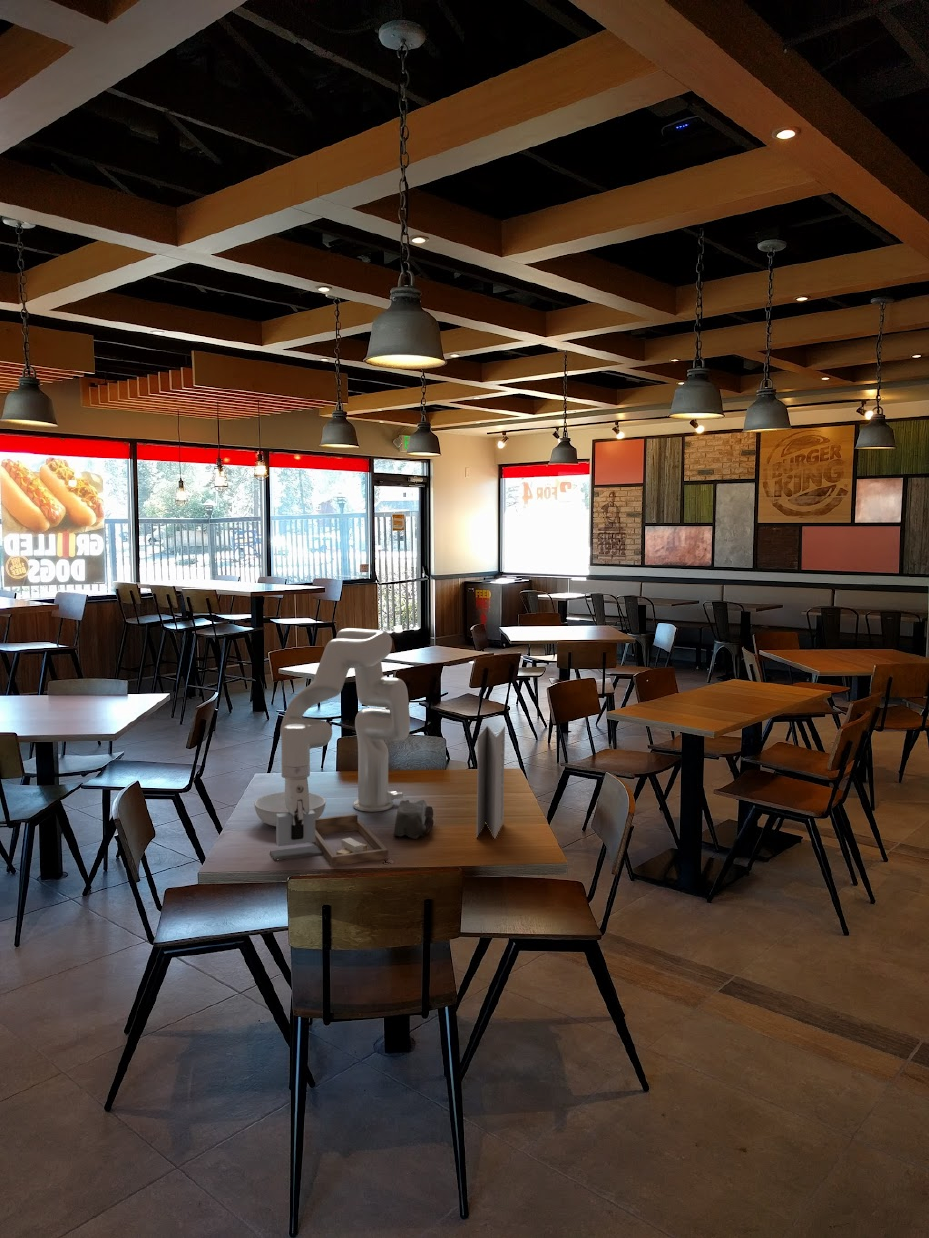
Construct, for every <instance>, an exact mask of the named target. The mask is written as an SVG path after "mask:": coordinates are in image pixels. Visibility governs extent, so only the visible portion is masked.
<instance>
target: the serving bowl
mask: <svg viewBox="0 0 929 1238" xmlns="http://www.w3.org/2000/svg"><path fill="white" fill-rule="evenodd" d="M253 805H254V811H255V814H256V815H257V817H258V818H259V820H261V822H263V823H265V824H267V825H269V826H272V827H276V814H281V813H289V811H288V809H287V808H286V806H285V791H284V792H283V791H282V792H274V793H269V794H266V795H264V796H261V797H258V798H257V799H256V800H255V801H254V804H253ZM325 808H326V799H325V798H324V797H323V796H321V795H319V794H317V793H313V792H312V793H310V792H309V810H313V811H314V812H315V819H316V818H321V816H322V814H323V813H324V811H325ZM303 811H304V810H303Z"/></svg>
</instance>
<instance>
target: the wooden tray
mask: <svg viewBox="0 0 929 1238" xmlns="http://www.w3.org/2000/svg"><path fill="white" fill-rule="evenodd" d="M358 819H359V817H358V814H357V813H353V814H343V815H334V816H325V817H319V818H316V819H315V842H314V843H315V845H317V846H318V847H319V849H320V850H321V851H322V855H323V856H324V857H325V859H326V860H327V861H328V863H329V864H330V865H331V867H335V866H343V865H351V864H358V863H363V862H364V863H366V862H373V861H380V860H387V859H389V849H388V848H387V847H386V846H385V845H384V844H383V843H382V841H380V839H379V838H378V837H377V836H375V834H374V833H373V832H372V831H371V830H370V829H369V828H368V827H367V826H366V824H364V822H362V820H361V819H360V820H358ZM352 831H358V832H359V833H360V835H362V837H363V838H364V839H365V840H366V841H367V842H368V843H369V844H370V846H371V847H372V848H373V849H372V850H367V851H363V852H356V853H348V854H340V855H337V854H336V853H334V851H333V850H332V849H331V848H330V847H329V844H327V842H326V841H325V840H324V838H323V837H322V836H321V835H327V834H336V833H345V832H352Z"/></svg>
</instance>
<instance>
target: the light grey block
mask: <svg viewBox="0 0 929 1238" xmlns="http://www.w3.org/2000/svg"><path fill="white" fill-rule="evenodd" d="M295 813H297V812H295ZM296 817H297V816H295V819H296ZM291 825H293V824H292V814H291V813H281V814H276V826H275V828H276V829H275V837H276V839H275V841H276V845H277V847H285V846H292V845H293V846H294V845H301V844H308V843H309V844H310V843H315V812H314V811H313V810H309V813H308V814H306V813H305V812H304V811H303V828H304V837H303V839H297V840H292V839H291Z"/></svg>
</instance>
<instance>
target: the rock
mask: <svg viewBox="0 0 929 1238" xmlns="http://www.w3.org/2000/svg"><path fill="white" fill-rule="evenodd" d="M433 817H434V809H433V807H432V806H429V805H428V806H427V802H426V800H424V799H421V800H418V801H416V802H410V800H409V799H407V800H404V799H403V800H401V801H400V802H399V805H398V808H397V813H396V817H395V823H394V830H393V836H394V837H395V836H398V837H403V836H405V835H406V836H407V837H408V838H411V839H413V840H416V839H418V838H419V837H425V836H427V834H428V833H429V832H430V831H431V829H432V828H433V826H434V819H433Z"/></svg>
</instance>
